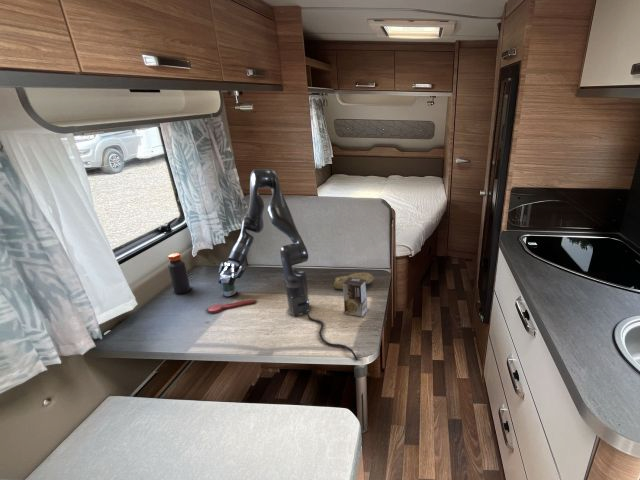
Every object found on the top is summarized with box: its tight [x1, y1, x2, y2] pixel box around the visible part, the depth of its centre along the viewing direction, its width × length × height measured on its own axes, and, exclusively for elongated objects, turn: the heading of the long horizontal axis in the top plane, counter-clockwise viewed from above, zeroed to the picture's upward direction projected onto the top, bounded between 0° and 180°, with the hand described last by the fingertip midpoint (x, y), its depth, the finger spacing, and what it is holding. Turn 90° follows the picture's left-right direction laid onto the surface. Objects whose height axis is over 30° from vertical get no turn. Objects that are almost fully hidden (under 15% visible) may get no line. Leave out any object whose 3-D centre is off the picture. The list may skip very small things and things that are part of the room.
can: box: [219, 272, 237, 297], centre depth 167 cm, size 6×6×10 cm
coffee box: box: [342, 277, 368, 317], centre depth 155 cm, size 9×6×16 cm
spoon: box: [207, 298, 255, 314], centre depth 159 cm, size 6×20×1 cm, turn 115°
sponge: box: [333, 272, 374, 290], centre depth 179 cm, size 13×8×20 cm
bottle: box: [167, 252, 191, 295], centre depth 169 cm, size 7×7×20 cm
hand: (224, 284), depth 165 cm, fingers closed on can, 5 cm apart
